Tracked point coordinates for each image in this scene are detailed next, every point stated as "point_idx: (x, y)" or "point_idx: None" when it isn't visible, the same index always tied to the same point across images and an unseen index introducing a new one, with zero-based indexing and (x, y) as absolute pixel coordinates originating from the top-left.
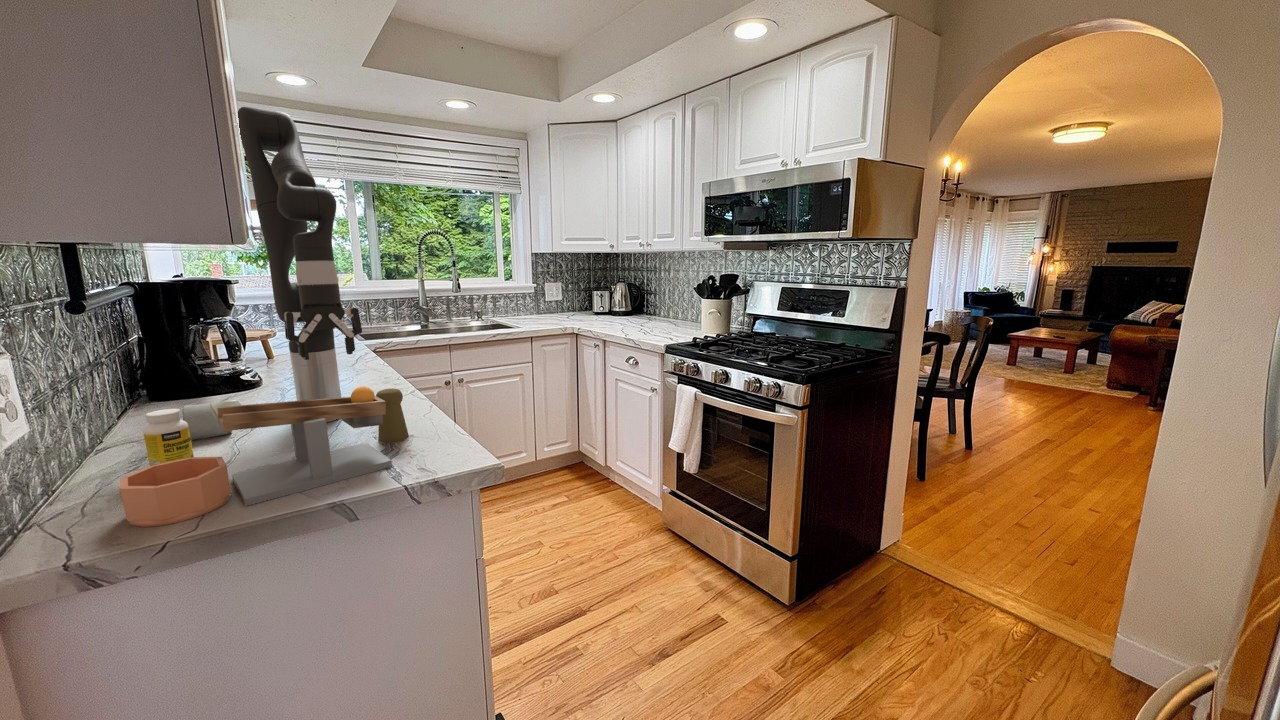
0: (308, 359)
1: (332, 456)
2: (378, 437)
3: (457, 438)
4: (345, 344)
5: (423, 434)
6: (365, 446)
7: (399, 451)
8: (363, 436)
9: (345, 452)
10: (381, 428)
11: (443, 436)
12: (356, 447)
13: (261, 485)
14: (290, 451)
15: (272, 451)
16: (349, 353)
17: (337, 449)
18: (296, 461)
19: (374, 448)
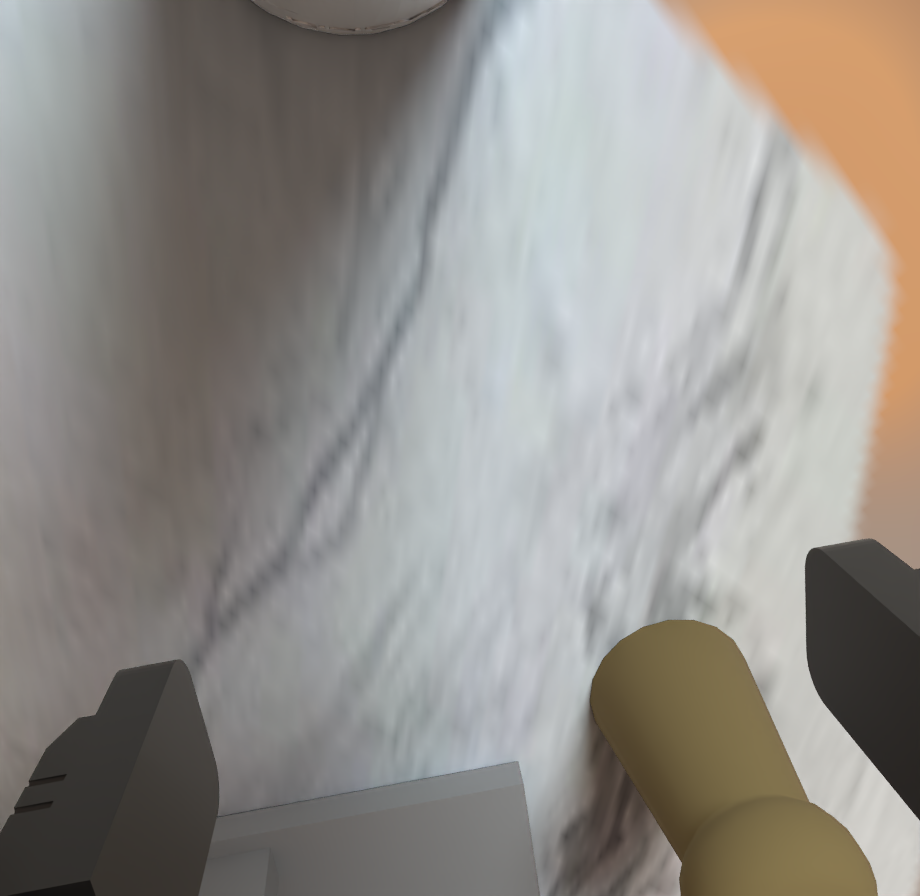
0: (210, 771)
1: (348, 893)
2: (599, 696)
3: (906, 844)
4: (900, 627)
5: (814, 705)
6: (506, 840)
7: (632, 876)
8: (542, 558)
9: (409, 871)
10: (628, 775)
11: (873, 786)
12: (465, 832)
13: None
14: (146, 600)
15: (43, 542)
16: (817, 688)
17: (379, 815)
18: None
19: (537, 884)
